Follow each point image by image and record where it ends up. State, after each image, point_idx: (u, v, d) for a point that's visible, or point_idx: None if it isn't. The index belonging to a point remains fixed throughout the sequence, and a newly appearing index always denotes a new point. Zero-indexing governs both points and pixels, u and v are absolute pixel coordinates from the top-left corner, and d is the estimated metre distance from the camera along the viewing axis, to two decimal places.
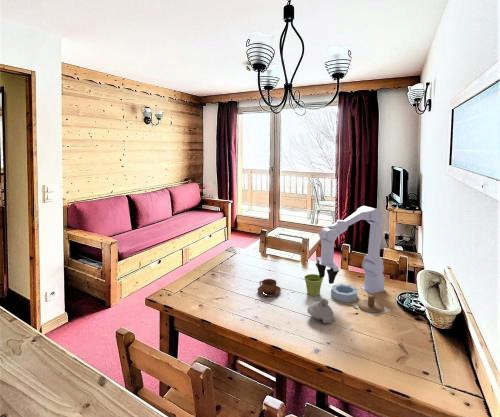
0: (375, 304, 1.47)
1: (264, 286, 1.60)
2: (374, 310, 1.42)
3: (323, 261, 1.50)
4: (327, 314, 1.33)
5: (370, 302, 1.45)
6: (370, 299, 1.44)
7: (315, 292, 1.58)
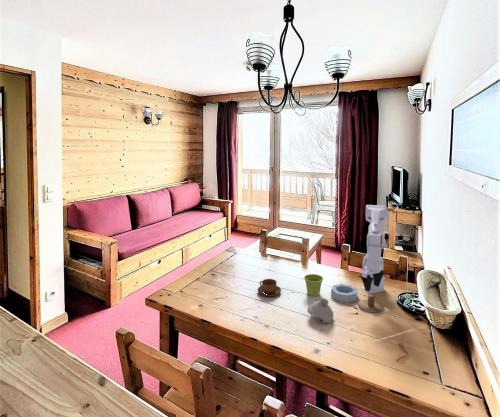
0: (375, 304, 1.47)
1: (264, 286, 1.60)
2: (374, 310, 1.42)
3: None
4: (327, 314, 1.34)
5: (370, 302, 1.45)
6: (370, 299, 1.44)
7: (315, 292, 1.58)
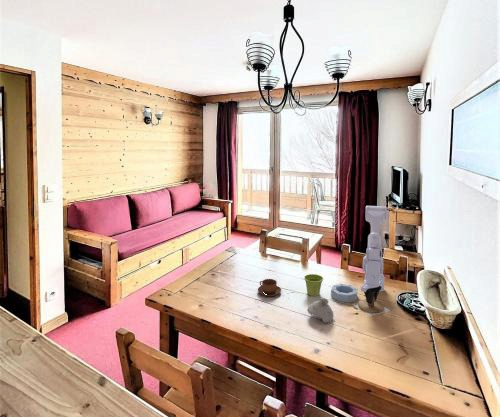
0: (375, 304, 1.47)
1: (264, 286, 1.60)
2: (374, 310, 1.42)
3: None
4: (327, 313, 1.34)
5: None
6: None
7: (315, 292, 1.58)
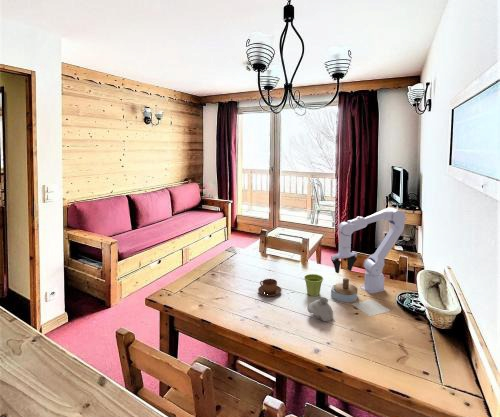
0: (350, 287, 1.56)
1: (265, 286, 1.60)
2: (345, 292, 1.52)
3: None
4: (326, 312, 1.35)
5: (344, 285, 1.55)
6: (344, 282, 1.55)
7: (315, 292, 1.58)
